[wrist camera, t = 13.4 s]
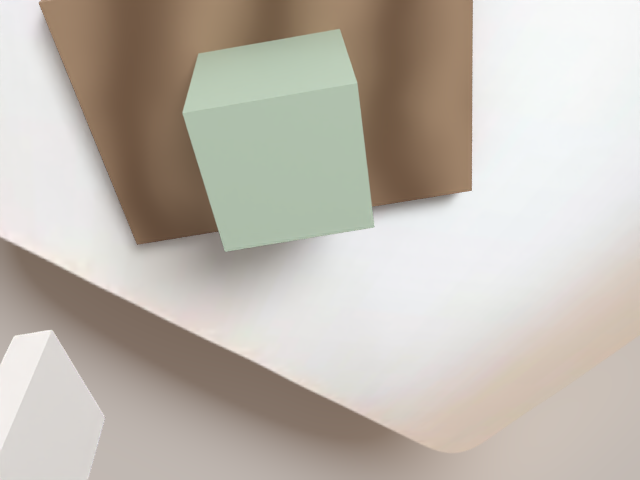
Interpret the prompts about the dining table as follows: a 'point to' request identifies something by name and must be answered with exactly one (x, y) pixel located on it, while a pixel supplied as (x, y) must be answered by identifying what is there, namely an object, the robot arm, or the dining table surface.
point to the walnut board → (250, 28)
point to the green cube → (280, 140)
